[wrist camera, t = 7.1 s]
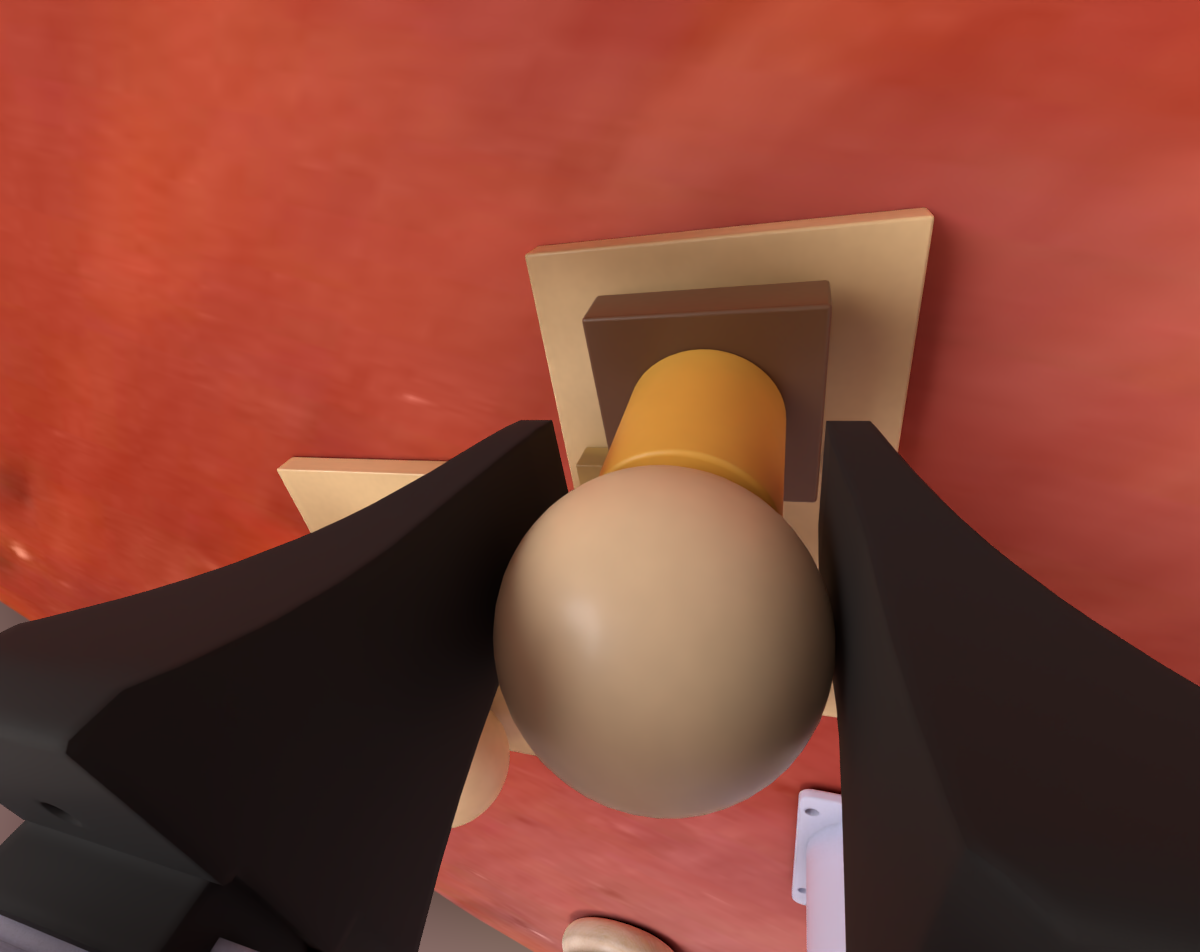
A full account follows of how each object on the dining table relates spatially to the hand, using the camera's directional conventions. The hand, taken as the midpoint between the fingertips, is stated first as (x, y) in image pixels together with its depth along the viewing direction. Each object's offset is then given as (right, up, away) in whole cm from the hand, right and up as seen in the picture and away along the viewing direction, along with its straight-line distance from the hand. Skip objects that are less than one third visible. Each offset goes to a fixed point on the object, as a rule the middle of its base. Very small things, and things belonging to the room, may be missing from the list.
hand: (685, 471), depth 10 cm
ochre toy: (0, -3, +1) cm, 3 cm away
